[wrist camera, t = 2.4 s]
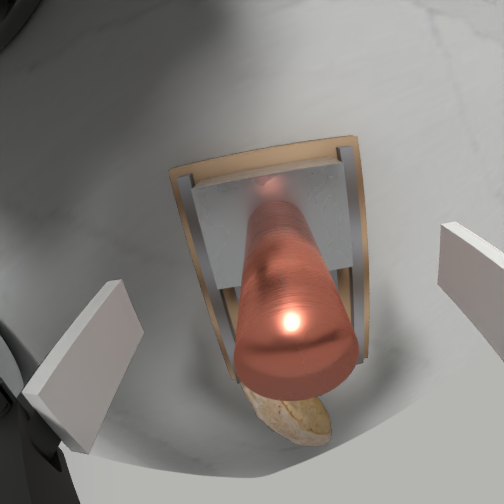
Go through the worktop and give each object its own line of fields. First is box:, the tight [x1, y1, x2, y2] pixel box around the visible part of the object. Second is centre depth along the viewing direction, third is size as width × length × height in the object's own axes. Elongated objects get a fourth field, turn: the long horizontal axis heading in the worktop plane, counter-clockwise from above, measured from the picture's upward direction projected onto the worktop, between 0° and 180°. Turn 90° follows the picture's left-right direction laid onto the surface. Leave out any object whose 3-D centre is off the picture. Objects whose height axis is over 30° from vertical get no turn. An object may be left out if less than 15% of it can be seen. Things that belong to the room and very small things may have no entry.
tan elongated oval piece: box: [241, 382, 332, 446], centre depth 25 cm, size 5×14×4 cm
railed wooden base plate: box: [168, 135, 369, 383], centre depth 22 cm, size 18×12×2 cm, turn 11°
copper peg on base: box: [191, 156, 359, 401], centre depth 14 cm, size 8×8×13 cm
